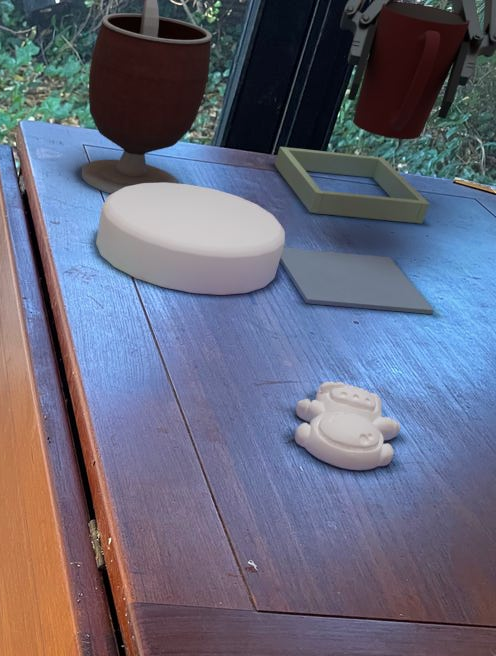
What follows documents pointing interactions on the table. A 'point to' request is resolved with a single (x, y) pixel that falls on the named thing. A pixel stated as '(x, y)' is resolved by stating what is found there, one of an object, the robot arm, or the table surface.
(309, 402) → the astronaut figurine
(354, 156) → the green rectangular frame
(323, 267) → the mat
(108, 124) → the mate gourd
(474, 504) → the table surface
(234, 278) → the container
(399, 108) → the mug
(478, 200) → the table surface
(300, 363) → the table surface
